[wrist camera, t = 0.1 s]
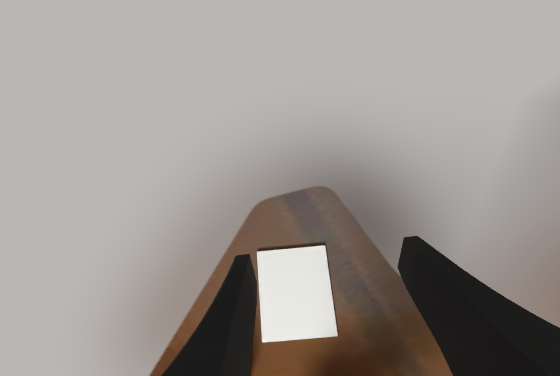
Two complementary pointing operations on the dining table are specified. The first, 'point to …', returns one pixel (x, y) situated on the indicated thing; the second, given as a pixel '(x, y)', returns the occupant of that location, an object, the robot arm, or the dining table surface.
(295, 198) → the dining table surface
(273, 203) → the dining table surface
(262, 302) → the white mat
